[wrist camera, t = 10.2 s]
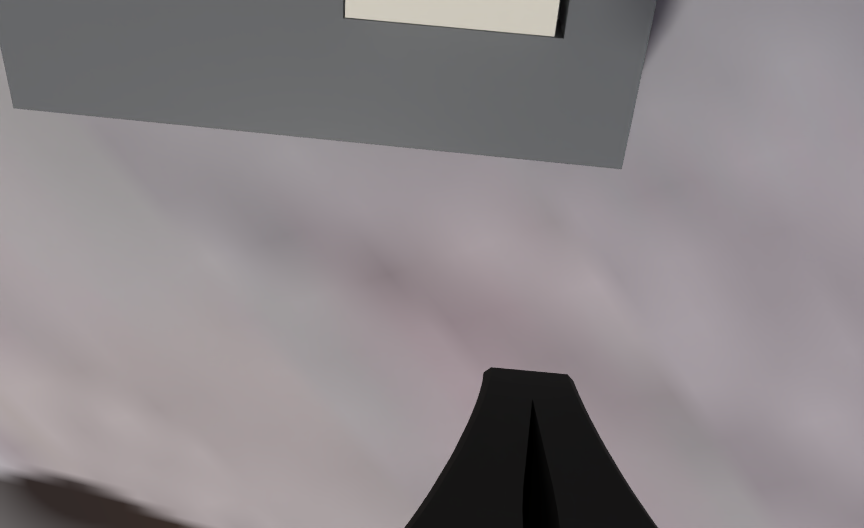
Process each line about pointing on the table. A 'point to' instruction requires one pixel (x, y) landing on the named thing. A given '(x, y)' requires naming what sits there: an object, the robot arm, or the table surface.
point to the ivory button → (463, 14)
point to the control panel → (337, 73)
